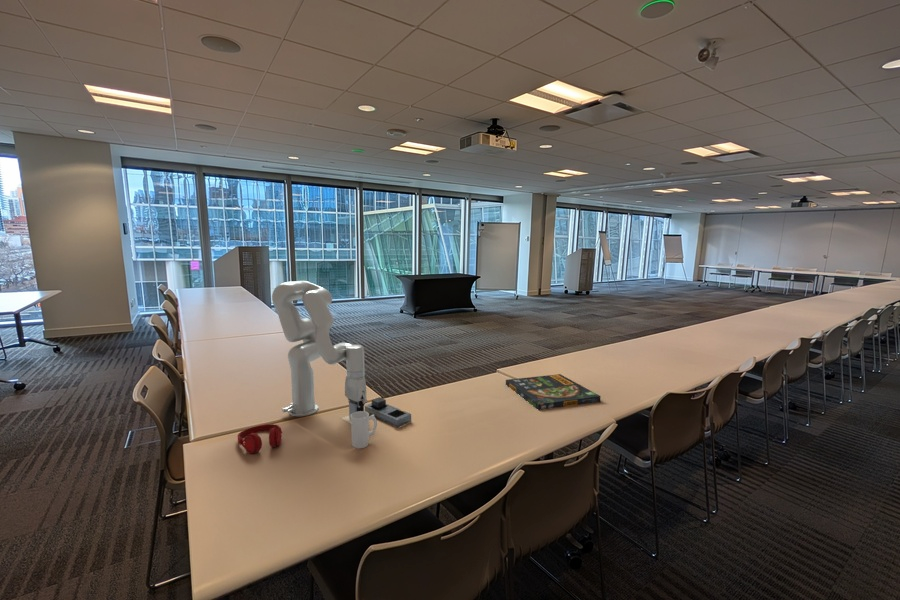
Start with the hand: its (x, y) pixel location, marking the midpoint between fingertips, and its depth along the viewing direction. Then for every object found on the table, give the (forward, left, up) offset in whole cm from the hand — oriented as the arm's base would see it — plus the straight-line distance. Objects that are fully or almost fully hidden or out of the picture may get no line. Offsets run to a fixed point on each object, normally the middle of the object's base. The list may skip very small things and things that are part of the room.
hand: (356, 412), depth 167 cm
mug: (-11, -20, -3) cm, 23 cm away
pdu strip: (+10, -9, -3) cm, 14 cm away
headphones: (-36, +12, -3) cm, 38 cm away
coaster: (0, 0, -3) cm, 3 cm away
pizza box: (+86, -51, -4) cm, 100 cm away
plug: (0, 0, -2) cm, 2 cm away
